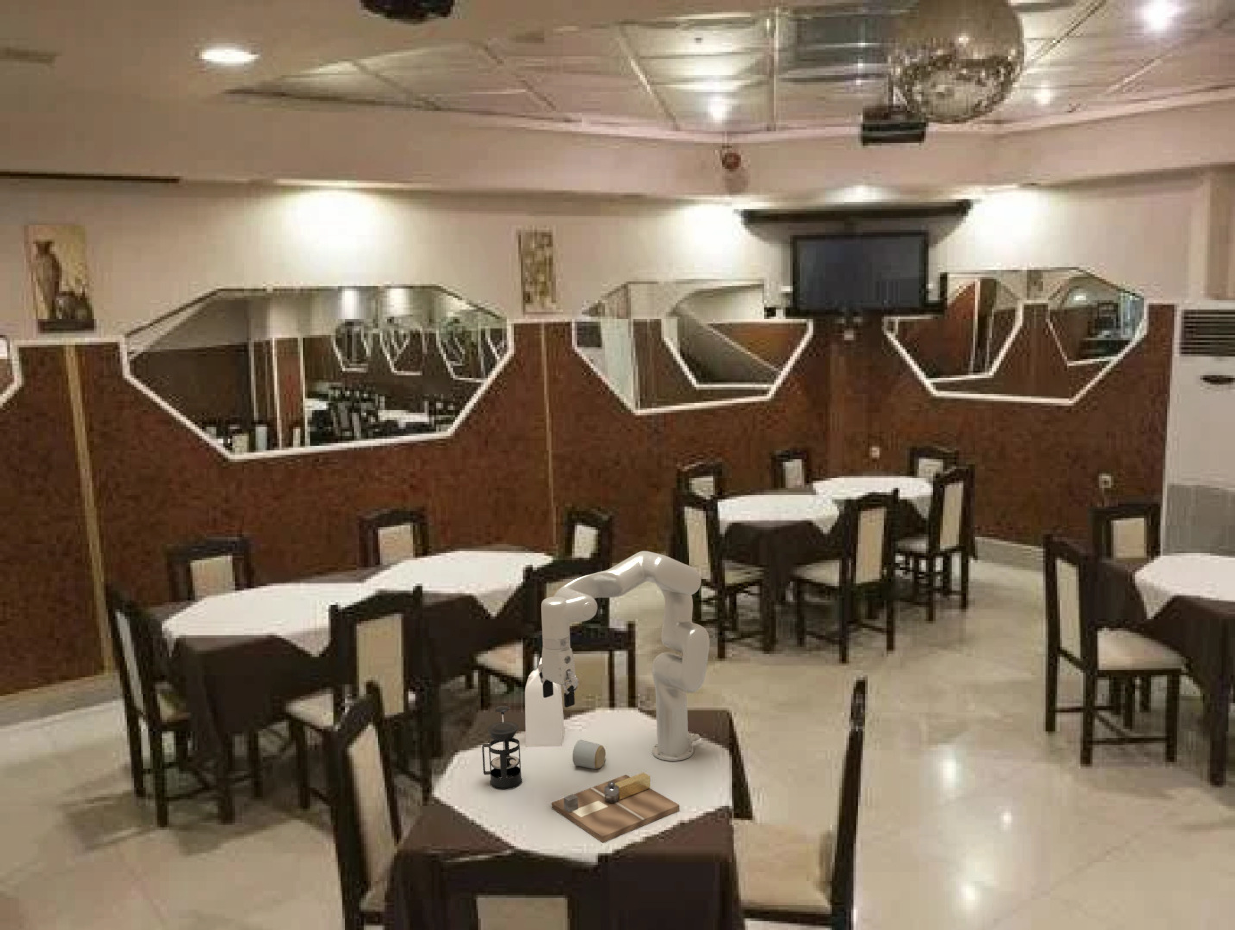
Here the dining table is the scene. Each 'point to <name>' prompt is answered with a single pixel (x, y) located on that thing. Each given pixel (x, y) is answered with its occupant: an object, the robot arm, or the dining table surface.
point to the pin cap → (611, 784)
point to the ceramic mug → (588, 754)
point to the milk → (543, 713)
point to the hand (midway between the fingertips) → (558, 701)
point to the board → (613, 810)
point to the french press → (503, 754)
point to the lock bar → (627, 787)
